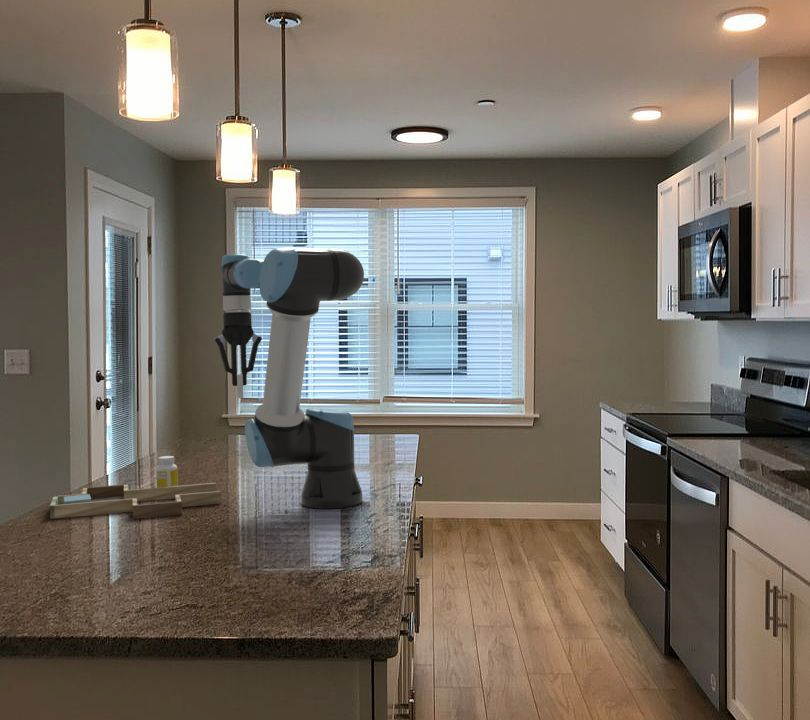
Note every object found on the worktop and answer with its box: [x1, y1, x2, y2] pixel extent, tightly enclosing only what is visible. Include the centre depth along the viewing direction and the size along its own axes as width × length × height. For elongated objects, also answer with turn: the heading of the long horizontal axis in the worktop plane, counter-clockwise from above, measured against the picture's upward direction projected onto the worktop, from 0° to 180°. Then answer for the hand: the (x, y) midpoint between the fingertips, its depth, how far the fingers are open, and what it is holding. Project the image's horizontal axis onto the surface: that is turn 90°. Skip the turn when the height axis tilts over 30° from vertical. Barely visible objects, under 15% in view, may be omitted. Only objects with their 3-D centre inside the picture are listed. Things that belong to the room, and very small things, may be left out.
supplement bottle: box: [156, 455, 179, 488], centre depth 220 cm, size 5×5×10 cm
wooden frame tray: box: [49, 482, 222, 520], centre depth 207 cm, size 28×40×3 cm
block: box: [64, 494, 91, 504], centre depth 202 cm, size 6×6×4 cm
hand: (239, 397), depth 228 cm, fingers closed
